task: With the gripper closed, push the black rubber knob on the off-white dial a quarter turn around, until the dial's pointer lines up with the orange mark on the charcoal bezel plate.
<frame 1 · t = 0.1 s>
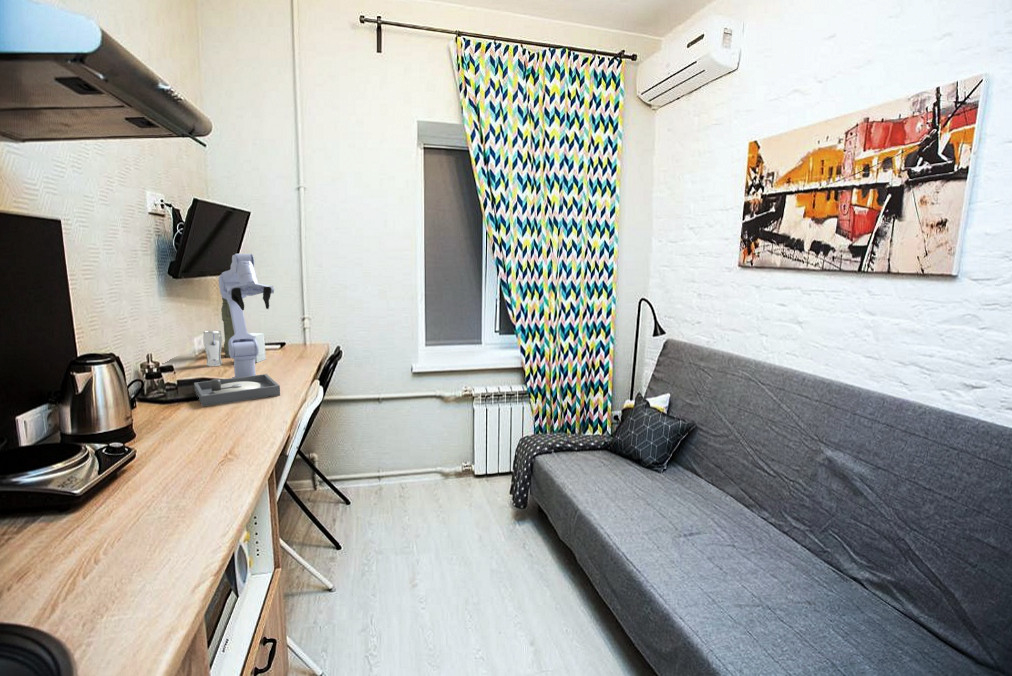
hand: (255, 307, 165), 32 cm above the worktop, tool tilted 50°, fingers open, 7 cm apart
beer glass: (214, 365, 216), on the worktop
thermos: (235, 355, 235), on the worktop
bezel plate: (237, 393, 175), on the worktop
supplement box: (254, 361, 225), on the worktop
dial: (236, 384, 174), point 4 cm above the worktop, hinge at 0.0°
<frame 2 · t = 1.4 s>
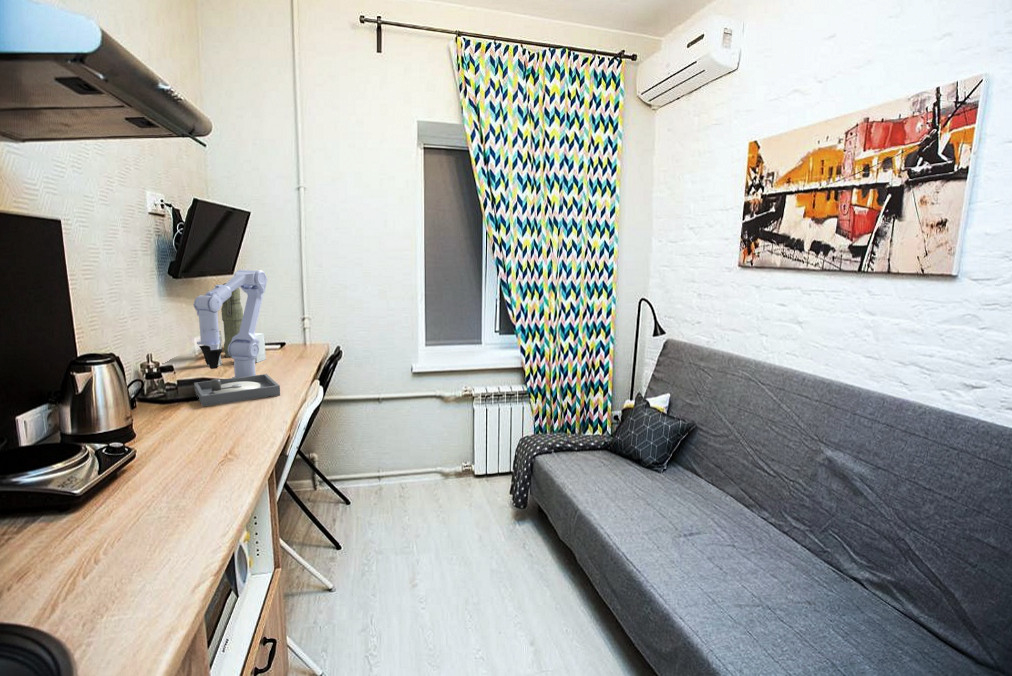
hand: (212, 366, 174), 10 cm above the worktop, tool pointing down, fingers open, 7 cm apart
nothing on the worktop moved.
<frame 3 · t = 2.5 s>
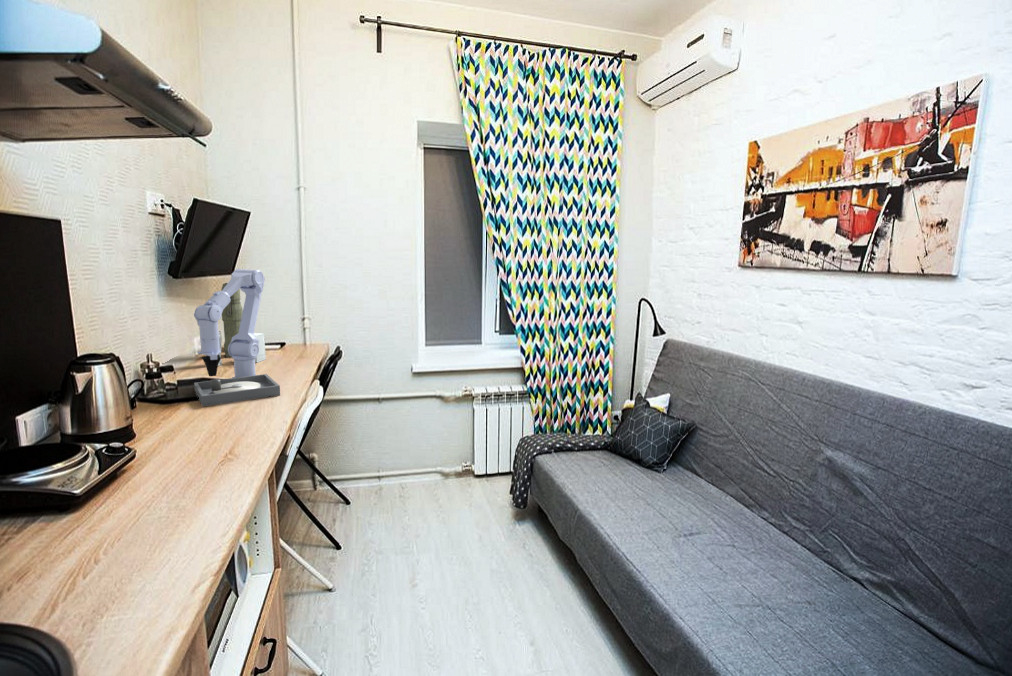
hand: (212, 375, 175), 6 cm above the worktop, tool pointing down, fingers closed
nothing on the worktop moved.
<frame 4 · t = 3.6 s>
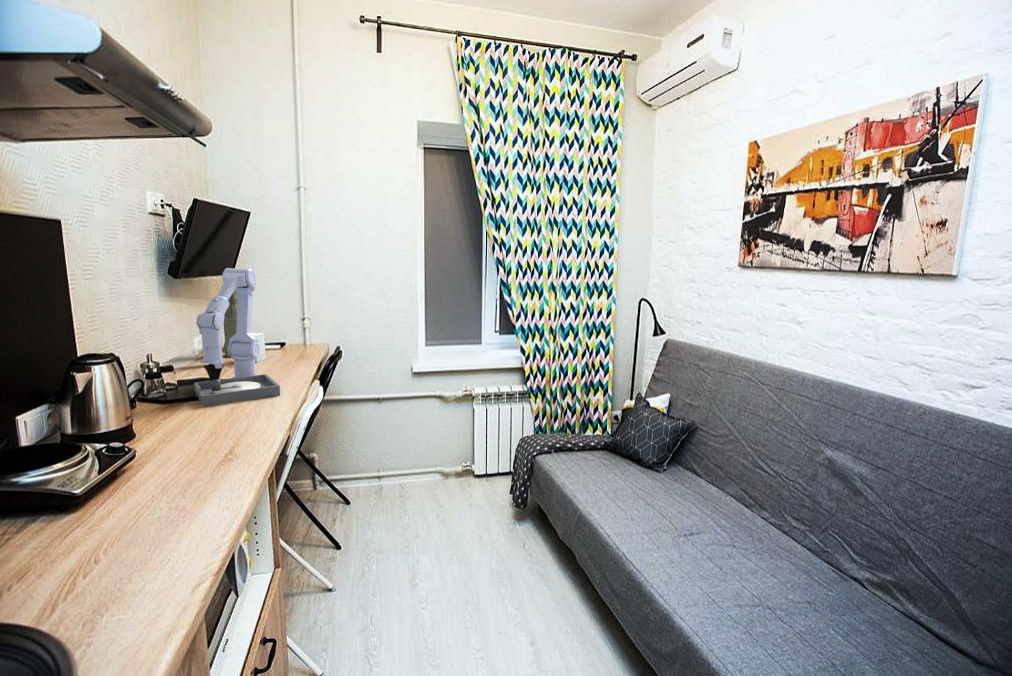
hand: (215, 384, 172), 4 cm above the worktop, tool pointing down, fingers closed, pressing on dial
dial: (236, 384, 174), point 4 cm above the worktop, hinge at 1.4°, touching gripper
everything else where it was.
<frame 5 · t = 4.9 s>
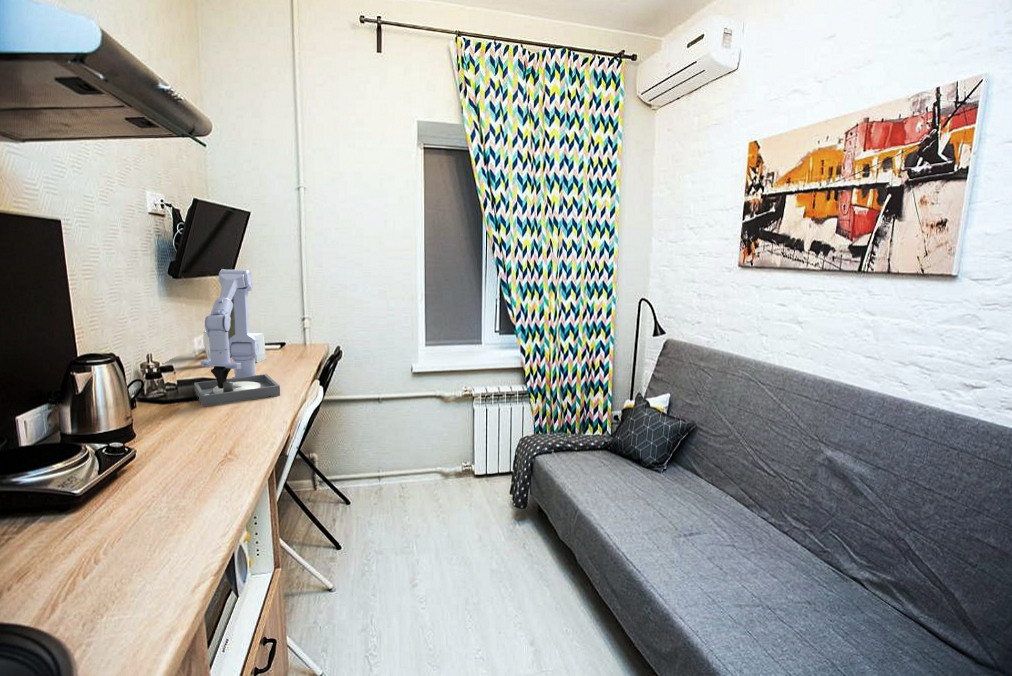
hand: (222, 387, 168), 4 cm above the worktop, tool pointing down, fingers closed, pressing on dial
dial: (236, 384, 174), point 4 cm above the worktop, hinge at 56.4°, touching gripper
everything else where it was.
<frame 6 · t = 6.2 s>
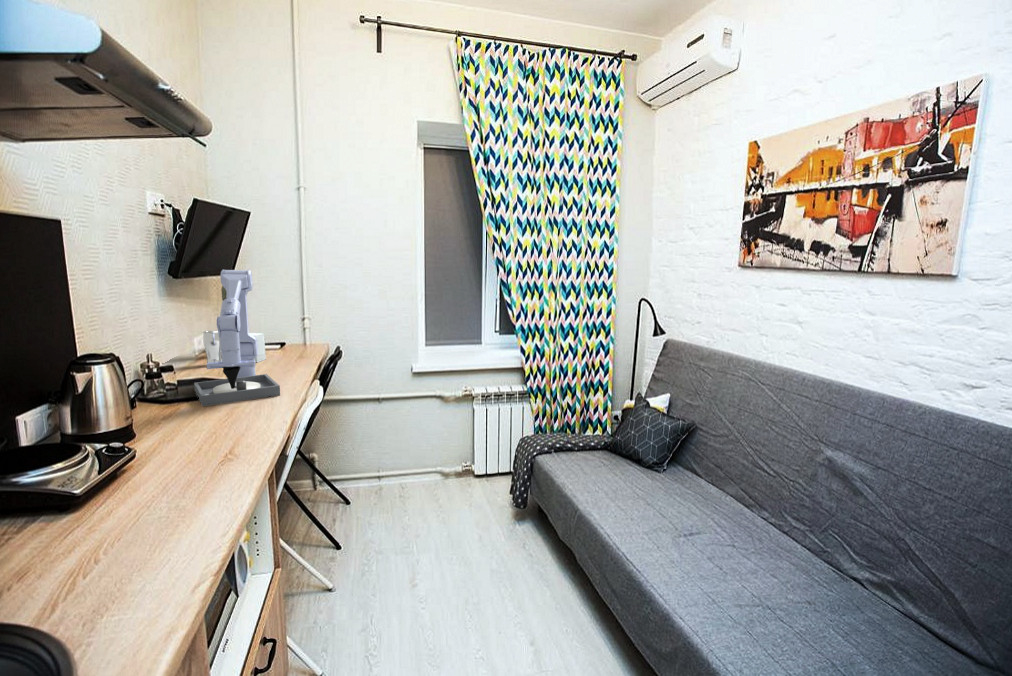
hand: (233, 387, 168), 4 cm above the worktop, tool pointing down, fingers closed
dial: (237, 384, 174), point 4 cm above the worktop, hinge at 93.2°, touching gripper
everything else where it was.
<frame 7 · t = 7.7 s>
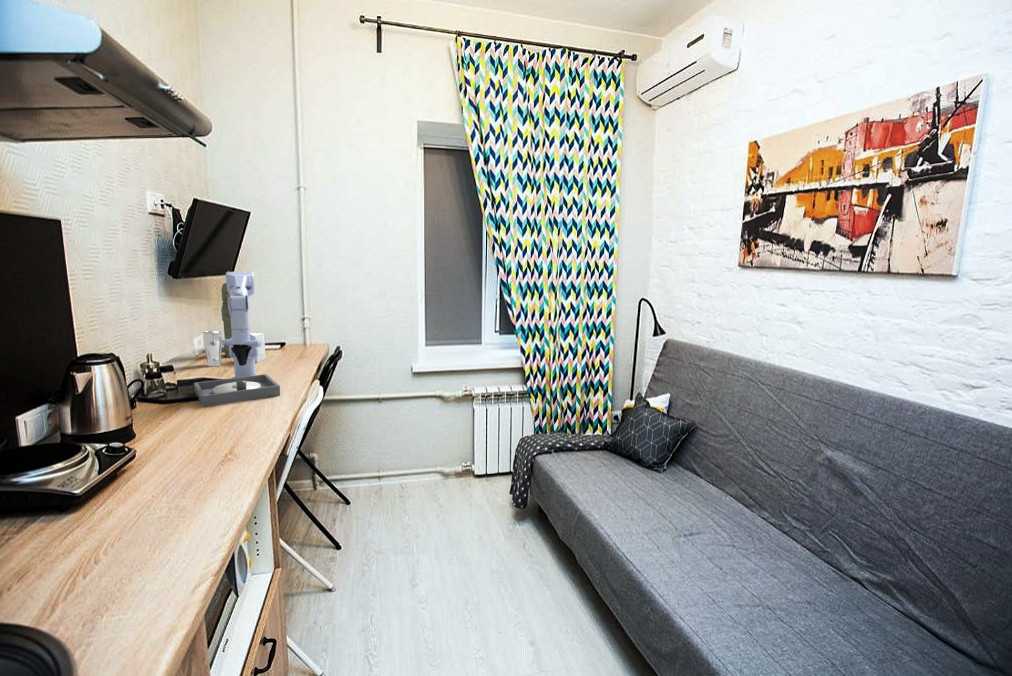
hand: (242, 365, 178), 9 cm above the worktop, tool pointing down, fingers closed
dial: (237, 384, 174), point 4 cm above the worktop, hinge at 93.3°
everything else where it was.
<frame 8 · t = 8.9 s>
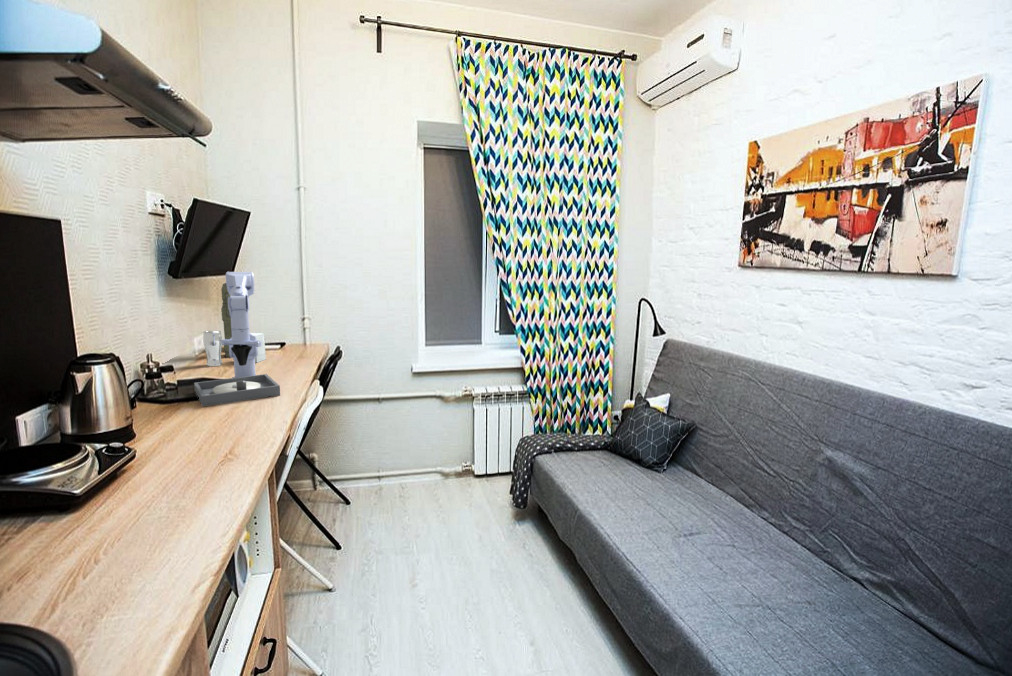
hand: (242, 365, 178), 9 cm above the worktop, tool pointing down, fingers closed
nothing on the worktop moved.
at the end: dial at +93° (first picture: +0°) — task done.
